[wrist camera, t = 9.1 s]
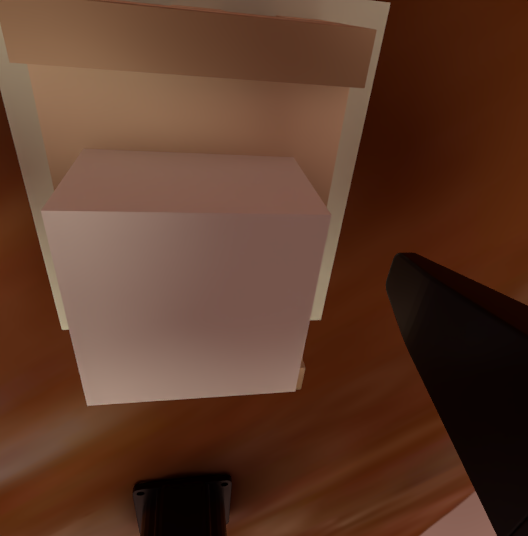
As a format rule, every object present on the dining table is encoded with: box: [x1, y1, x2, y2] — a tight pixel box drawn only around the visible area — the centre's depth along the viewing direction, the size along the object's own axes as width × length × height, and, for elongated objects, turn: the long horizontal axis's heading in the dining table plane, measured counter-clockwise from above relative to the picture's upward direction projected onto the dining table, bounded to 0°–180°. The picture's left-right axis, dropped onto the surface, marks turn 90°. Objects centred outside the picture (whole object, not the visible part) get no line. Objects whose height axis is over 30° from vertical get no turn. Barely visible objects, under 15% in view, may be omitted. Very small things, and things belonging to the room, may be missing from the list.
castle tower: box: [0, 0, 377, 390], centre depth 11 cm, size 10×6×4 cm, turn 175°
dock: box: [0, 0, 390, 330], centre depth 14 cm, size 11×10×3 cm
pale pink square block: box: [41, 149, 331, 406], centre depth 9 cm, size 5×5×3 cm
